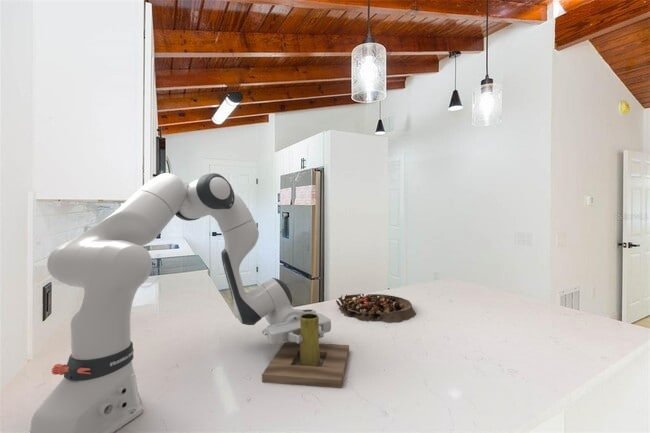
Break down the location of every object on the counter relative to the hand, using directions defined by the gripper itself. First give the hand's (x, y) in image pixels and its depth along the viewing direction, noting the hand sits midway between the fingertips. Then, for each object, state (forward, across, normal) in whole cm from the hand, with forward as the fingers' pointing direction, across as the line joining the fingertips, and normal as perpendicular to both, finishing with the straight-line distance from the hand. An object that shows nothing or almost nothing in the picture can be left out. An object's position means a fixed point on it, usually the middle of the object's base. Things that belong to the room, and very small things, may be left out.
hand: (311, 337), depth 92 cm
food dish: (-30, +48, +9) cm, 57 cm away
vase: (-1, 0, +8) cm, 9 cm away
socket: (-1, 0, +8) cm, 8 cm away
